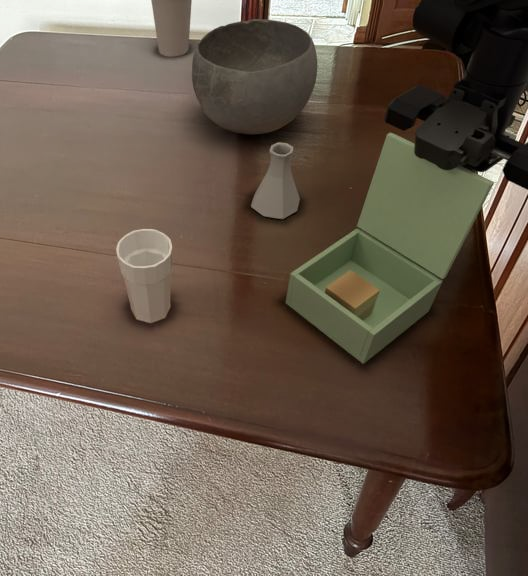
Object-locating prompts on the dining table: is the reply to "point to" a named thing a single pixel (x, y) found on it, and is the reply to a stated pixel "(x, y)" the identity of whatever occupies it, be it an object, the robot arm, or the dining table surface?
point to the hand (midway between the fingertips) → (447, 194)
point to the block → (354, 294)
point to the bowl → (254, 74)
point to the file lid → (421, 206)
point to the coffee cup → (172, 26)
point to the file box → (377, 271)
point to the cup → (146, 272)
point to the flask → (277, 186)
